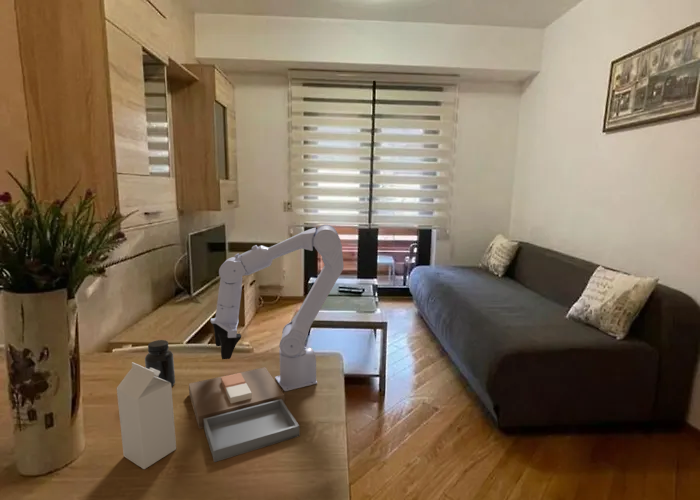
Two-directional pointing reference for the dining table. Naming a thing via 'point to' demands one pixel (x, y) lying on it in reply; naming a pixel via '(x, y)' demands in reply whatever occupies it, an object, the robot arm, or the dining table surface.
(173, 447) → the milk carton
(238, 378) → the terracotta tile
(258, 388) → the plate
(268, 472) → the dining table surface
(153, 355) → the supplement bottle
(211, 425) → the tray
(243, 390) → the cream tile
